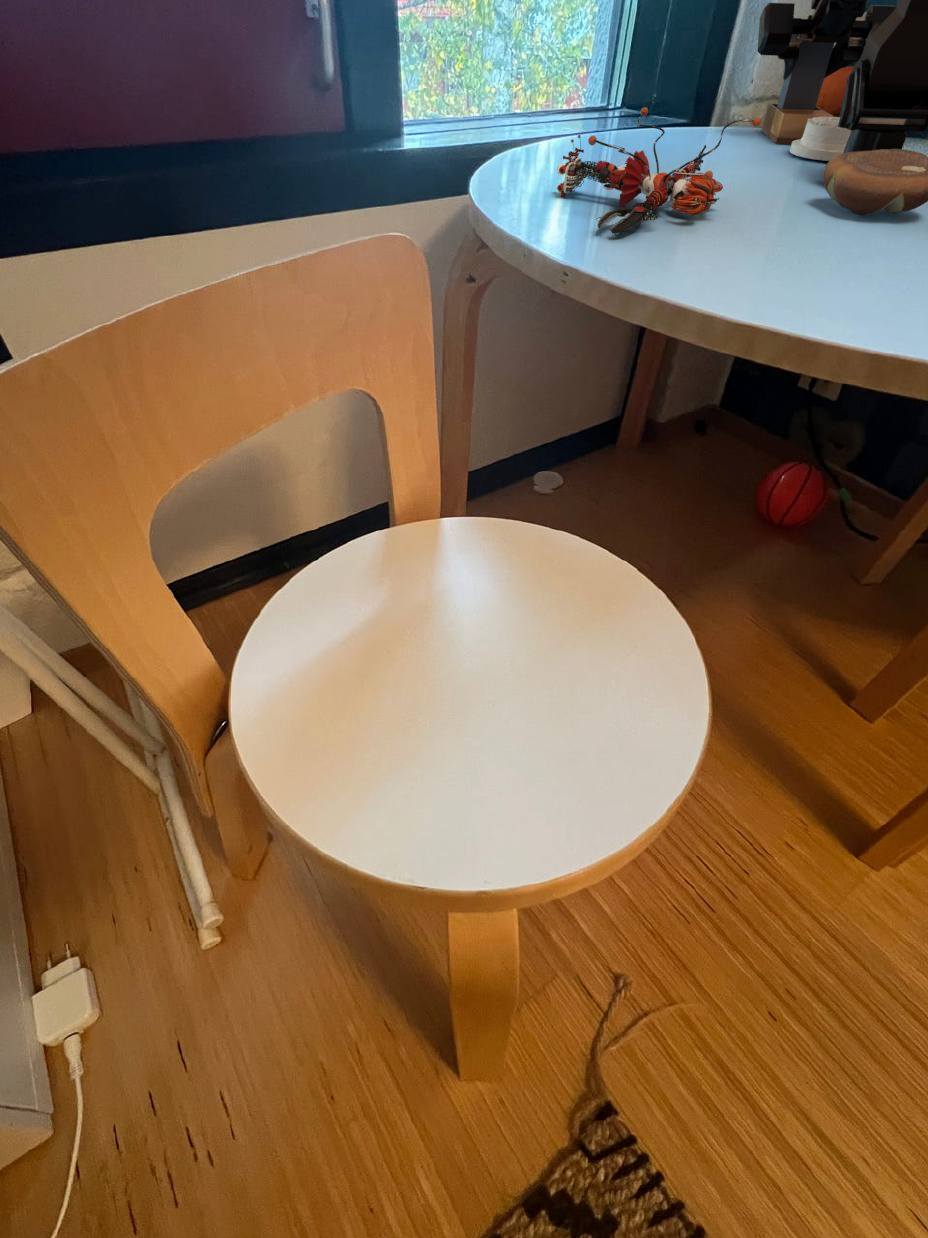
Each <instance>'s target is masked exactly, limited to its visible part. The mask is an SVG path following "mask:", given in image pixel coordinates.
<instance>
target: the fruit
mask: <svg viewBox="0 0 928 1238" xmlns="http://www.w3.org/2000/svg"><path fill="white" fill-rule="evenodd" d="M853 67H854V65H851V66H850V65H847V66H845V67H843V68H841V69H839V70H838V71H836V72H834V73H833V74H831V75H829V76H827V77H826V78H824V80H823V83H822V87H821V90H820V94H819V97H818V100H817V104H816V106H817V107H819V108H821V109H822V110H824V111H826V112H828V113H829V114H831V115H833V117H840V112H841V107H842V103H843V98H844V94H845V89H846V81H847V77H848V76H849V75H850V73H851V71H852V69H853Z"/></svg>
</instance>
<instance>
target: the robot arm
mask: <svg viewBox="0 0 928 1238" xmlns="http://www.w3.org/2000/svg"><path fill="white" fill-rule="evenodd" d="M867 1H868V0H811V4H810V5H811V7H810V9H811V10H814V11H813V14H809V15H808V16H807V18H801V17H795V3H794V2H768V3H767V4H766V5H765V6H764V7H763V9H762V11H761V14H760V16H759V23H758V38H757V52H758V54H759V55H760V56H773V57H774V56H775V57H777V58H778V59H779V60H781V61H782V60H783V62H784V65H783V66H784V67H783V74H782V75H783V77H782V79H783V81H784V80H786V78H787V77H788V76H789V75H790V73H791V71H792V69H793V67H794V66H795V64H796V62H797V60H798V58H799V46H800V44H801V42H802V41H812V42H822V43H834V47H833V50H832V53H831V57H830V60H829V63H828V67H827V70H826V73H825V77H824V78H826V77H827V76H829V75H831V74H833V73H834V72H836V71H838V70H839V69H841V68H845V67H848V66H850V65H852V64H854V65H853V66H854V67H853V69H852V71H851V73H850V75H849V76H848V77H847V81H846V89H845V94H844V98H843V103H842V107H841V112H840V120H839V123H838V127H840V128H846V129H848V130H851V133H850V136H849V138H848V140H847V143H846V146H845V149H844V152H843V153H848V152H858V151H873V150H881V149H888V150H890V149H903V147H904V145H905V142H906V140H907V137H908V134H909V133H908V132H914V133H918V134H924V133H925V131H926V129H927V127H928V0H898V3H897V4H896V5H879V4H878V5H876V4H875V5H874V4H870V5H869V6H868V7H867ZM867 8H868V9H867Z"/></svg>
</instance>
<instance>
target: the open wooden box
mask: <svg viewBox="0 0 928 1238" xmlns="http://www.w3.org/2000/svg"><path fill="white" fill-rule="evenodd" d="M777 104H778V103H772V102H771V103H768V104H767V108H766V111H765V115H764V119H763V123H762V127H761V131H760V132H761V133H762V134H763V135H765V136H766V137H767V139H769V140H771V141H772V142H773V143H774V144H775V145H791V144H792V141H795V140H799V139H801V138H802V137H803V134H804V131H805V128H806V125H807V121H808V119H812V117H833V115H831V114H829V113H828V112H826V111H824V110H822V109H821V108H819V107H817V106H816V107H815V110H797V109H778V108H777Z"/></svg>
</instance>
